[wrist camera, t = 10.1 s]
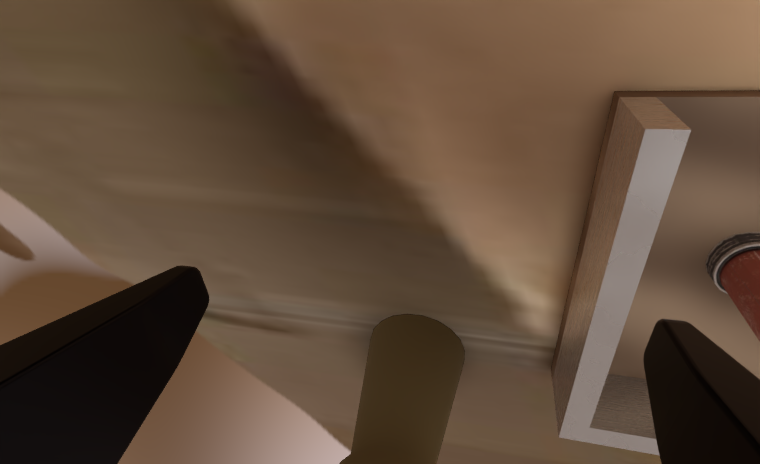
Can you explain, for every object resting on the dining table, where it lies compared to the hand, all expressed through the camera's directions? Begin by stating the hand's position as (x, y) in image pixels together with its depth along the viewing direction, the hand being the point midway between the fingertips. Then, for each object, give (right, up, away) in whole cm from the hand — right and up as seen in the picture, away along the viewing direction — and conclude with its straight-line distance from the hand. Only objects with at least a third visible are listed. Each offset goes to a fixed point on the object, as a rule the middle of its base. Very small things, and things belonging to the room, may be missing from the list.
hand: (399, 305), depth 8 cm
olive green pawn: (+2, -6, +18) cm, 19 cm away
